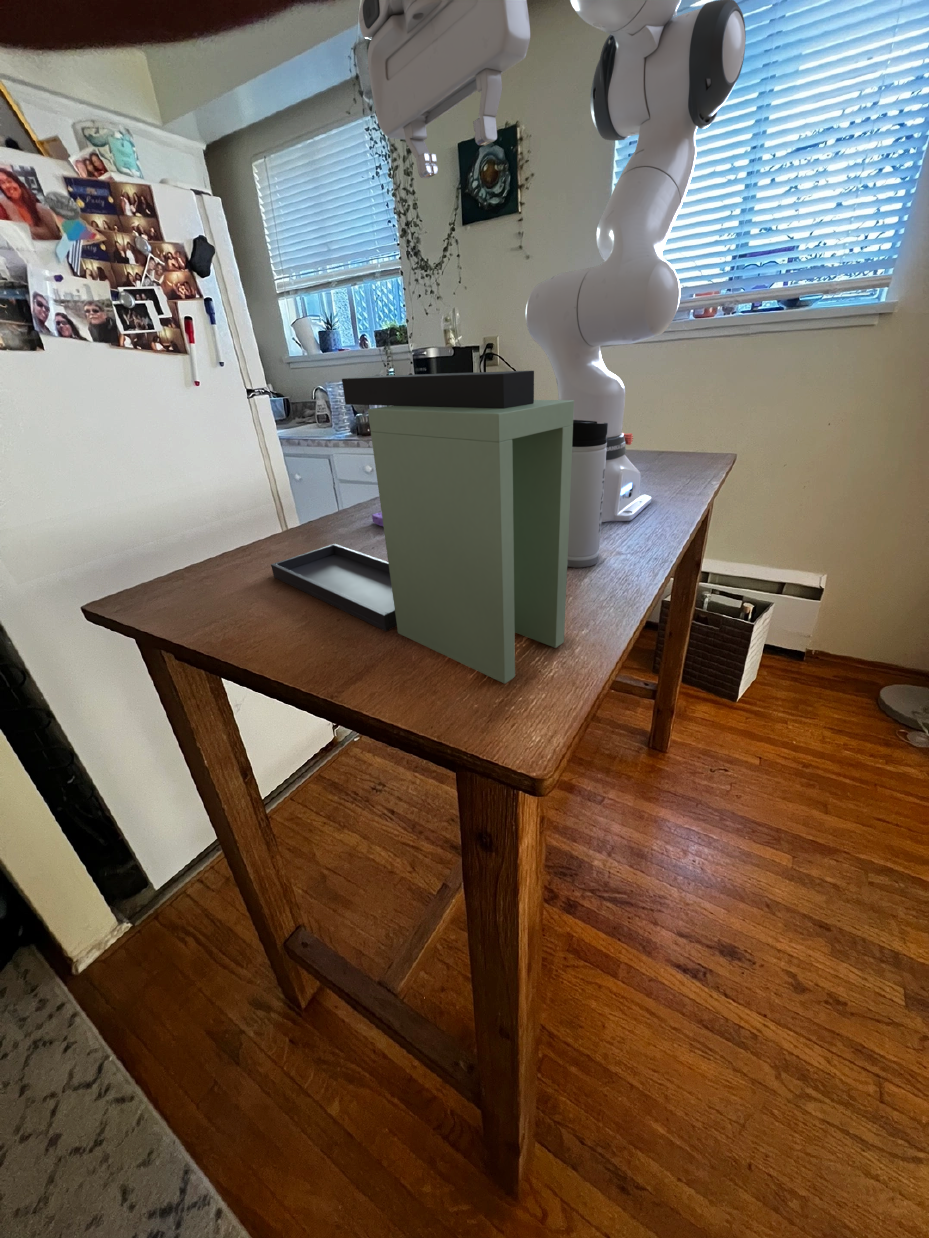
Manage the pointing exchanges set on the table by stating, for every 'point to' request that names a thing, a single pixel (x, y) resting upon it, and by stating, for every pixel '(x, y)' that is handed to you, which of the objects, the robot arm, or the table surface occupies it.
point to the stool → (476, 525)
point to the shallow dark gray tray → (343, 582)
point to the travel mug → (586, 492)
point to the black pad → (443, 390)
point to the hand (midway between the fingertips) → (456, 160)
